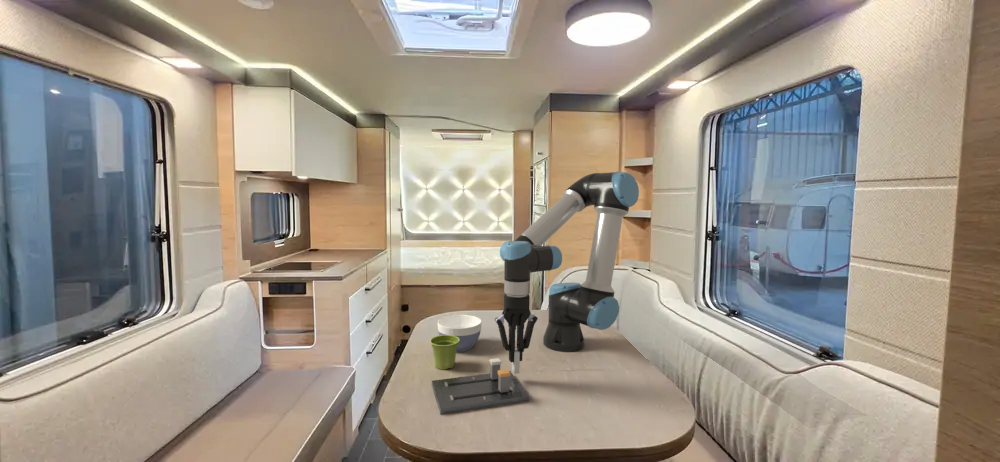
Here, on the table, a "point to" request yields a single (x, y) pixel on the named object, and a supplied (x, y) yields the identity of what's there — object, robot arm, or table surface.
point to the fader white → (494, 368)
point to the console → (475, 393)
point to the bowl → (461, 329)
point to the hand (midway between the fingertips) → (515, 371)
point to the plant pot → (444, 350)
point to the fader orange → (503, 380)
